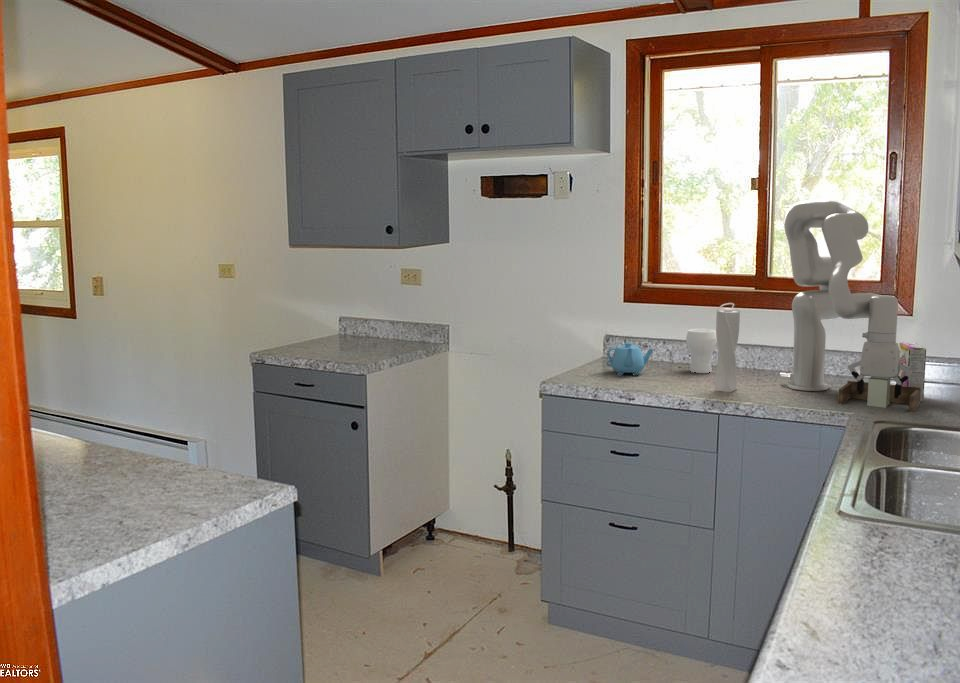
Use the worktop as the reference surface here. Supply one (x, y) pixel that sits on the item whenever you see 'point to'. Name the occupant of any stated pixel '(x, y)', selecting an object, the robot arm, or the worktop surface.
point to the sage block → (878, 391)
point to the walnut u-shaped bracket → (907, 396)
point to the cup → (701, 349)
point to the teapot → (628, 359)
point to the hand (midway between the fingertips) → (878, 395)
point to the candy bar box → (913, 365)
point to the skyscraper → (727, 348)
